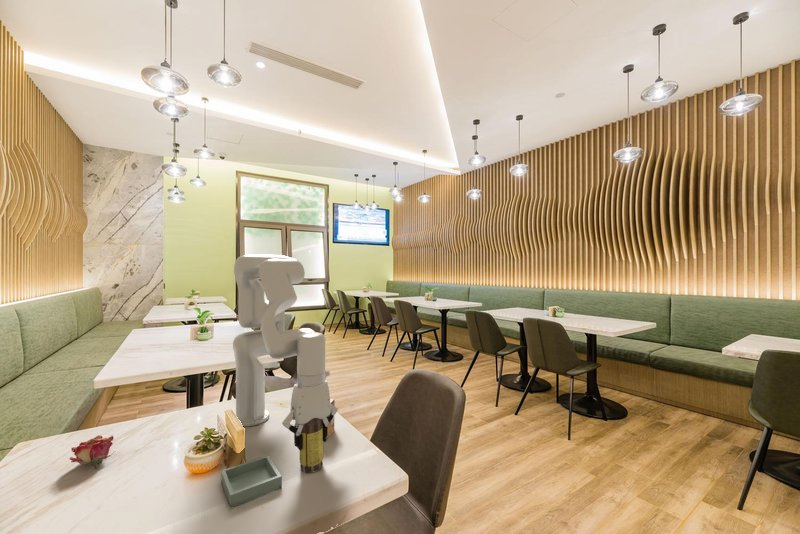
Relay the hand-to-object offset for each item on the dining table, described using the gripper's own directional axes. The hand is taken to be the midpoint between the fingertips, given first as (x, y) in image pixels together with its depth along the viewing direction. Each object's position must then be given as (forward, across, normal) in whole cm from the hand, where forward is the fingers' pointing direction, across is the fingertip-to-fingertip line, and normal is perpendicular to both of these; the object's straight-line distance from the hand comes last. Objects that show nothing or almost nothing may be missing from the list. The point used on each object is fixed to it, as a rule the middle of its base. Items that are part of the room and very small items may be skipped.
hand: (311, 443), depth 92 cm
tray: (+7, +15, -2) cm, 17 cm away
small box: (+7, -10, -15) cm, 19 cm away
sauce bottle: (+7, 0, 0) cm, 7 cm away
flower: (+7, +48, -38) cm, 62 cm away
